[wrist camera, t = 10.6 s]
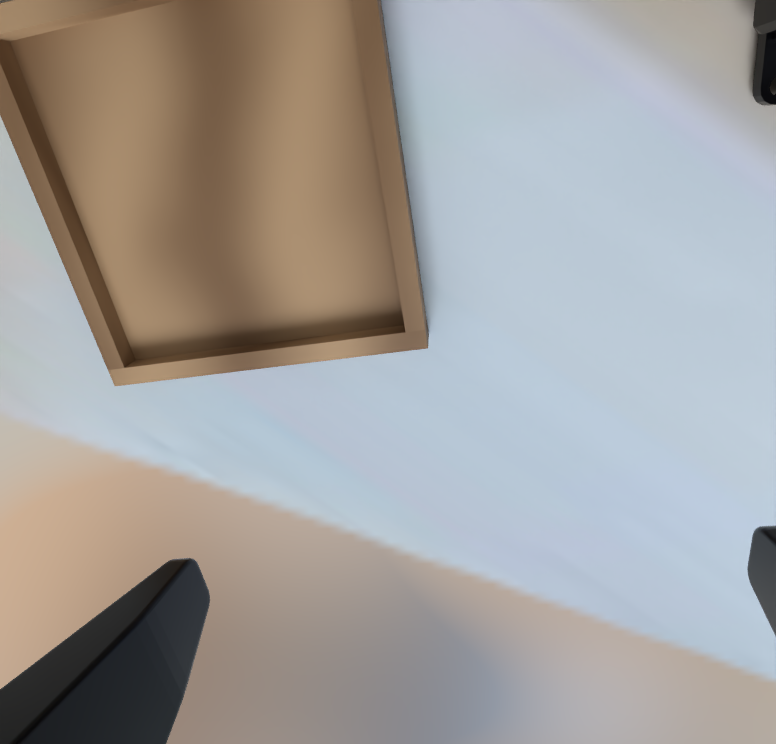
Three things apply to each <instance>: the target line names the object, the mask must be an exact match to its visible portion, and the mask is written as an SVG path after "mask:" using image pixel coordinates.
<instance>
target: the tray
mask: <svg viewBox="0 0 776 744" xmlns="http://www.w3.org/2000/svg"><path fill="white" fill-rule="evenodd" d="M0 115H1V118H2V120H3V122H4V125H5V127H6V129H7V132H8V134H9V136H10V139H11V141H12V144H13V146H14V148H15V151H16V153H17V155H18V158H19V160H20V163H21V165H22V167H23V170H24V172H25V174H26V177H27V179H28V182H29V184H30V186H31V189H32V191H33V193H34V196H35V198H36V200H37V203H38V205H39V208H40V210H41V212H42V215H43V217H44V219H45V222H46V224H47V227H48V229H49V231H50V234H51V236H52V238H53V241H54V243H55V245H56V248H57V250H58V253H59V255H60V257H61V260H62V262H63V264H64V267H65V269H66V272H67V274H68V276H69V279H70V281H71V283H72V286H73V288H74V290H75V293H76V295H77V298H78V300H79V302H80V305H81V307H82V309H83V312H84V314H85V317H86V319H87V321H88V324H89V326H90V328H91V331H92V333H93V335H94V338H95V340H96V343H97V345H98V347H99V350H100V352H101V354H102V357H103V359H104V362H105V364H106V366H107V369H108V371H109V373H110V376H111V378H112V380H113V383H114V385H115V386H121V385H129V384H137V383H145V382H154V381H162V380H170V379H178V378H187V377H195V376H203V375H211V374H220V373H228V372H236V371H244V370H253V369H261V368H269V367H277V366H285V365H294V364H302V363H310V362H318V361H327V360H335V359H343V358H351V357H360V356H368V355H376V354H384V353H393V352H401V351H409V350H417V349H426V348H428V339H429V333H428V326H427V319H426V312H425V305H424V298H423V291H422V284H421V277H420V270H419V263H418V256H417V249H416V243H415V236H414V229H413V222H412V215H411V208H410V201H409V194H408V187H407V180H406V173H405V166H404V159H403V152H402V145H401V138H400V131H399V124H398V117H397V110H396V103H395V96H394V89H393V83H392V76H391V69H390V62H389V55H388V48H387V41H386V34H385V27H384V20H383V13H382V6H381V0H12V1H8V2H4V3H0Z"/></svg>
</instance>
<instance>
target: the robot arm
mask: <svg viewBox="0 0 776 744" xmlns="http://www.w3.org/2000/svg"><path fill="white" fill-rule="evenodd" d="M753 26H754V28H755V29H756V31H757V32H758V33H759V36H758V46H757V55H756V65H755V74H754V84H753V97H754V98H755V100H756V102H757V103H759V104H761V105H776V94H775V95H773V94H772V93H771V92H770V85H771V82H772V81H773V80H774V79H775V77H776V0H756V2H755V12H754V22H753ZM748 576H749V580H750V583H751V585H752V588H753V590H754V592H755V594H756V596H757V598H758V600H759V602H760V604H761V606H762V609H763V611H764V613H765V615H766V617H767V619H768V621H769V623H770V625H771V627H772V629H773V632H774V634H775V636H776V526H762V527H758V528H757V529H756V530H755V531H754V533H753V537H752V543H751V549H750V556H749V562H748ZM209 603H210V595H209V590H208V588H207V586H206V583H205V580H204V578H203V575H202V573H201V570H200V568H199V565H198V564H197V562H196V561H195V560H194V559H191V558H186V559H185V558H184V559H173V560H170V561H168V562H167V563H165V564H164V565H163V566H161V567H160V568H159V569H157V570H156V571H155V572H153V573H152V574H151V575H149V576H148V577H147V578H146V579H144V580H143V581H142V582H140V583H139V584H138V585H136V586H135V587H134V588H132V589H131V590H130V591H129V592H127V593H126V594H125V595H123V596H122V597H121V598H119V599H118V600H117V601H115V602H114V603H113V604H112V605H110V606H109V607H108V608H106V609H105V610H104V611H102V612H101V613H100V614H98V615H97V616H96V617H95V618H93V619H92V620H91V621H89V622H88V623H87V624H85V625H84V626H83V627H81V628H80V629H79V630H77V631H76V632H75V633H74V634H72V635H71V636H70V637H68V638H67V639H66V640H64V641H63V642H62V643H60V644H59V645H58V646H57V647H55V648H54V649H53V650H51V651H50V652H49V653H48V654H46V655H45V656H44V657H42V658H41V659H40V660H38V661H37V662H35V663H34V664H33V665H32V666H31V667H29V668H28V669H27V670H25V671H24V672H22V673H21V674H20V675H19V676H17V677H16V678H15V679H13V680H12V681H11V682H9V683H8V684H7V685H6V686H4V687H3V688H1V689H0V744H166V742H167V740H168V737H169V735H170V732H171V729H172V726H173V724H174V721H175V719H176V716H177V713H178V711H179V708H180V705H181V702H182V700H183V697H184V693H185V690H186V687H187V684H188V680H189V677H190V673H191V670H192V666H193V662H194V659H195V655H196V652H197V648H198V644H199V641H200V637H201V634H202V630H203V626H204V623H205V619H206V616H207V612H208V608H209Z"/></svg>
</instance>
